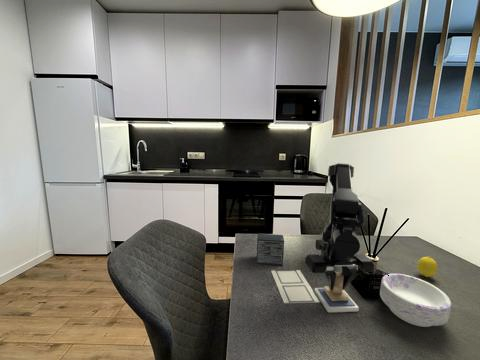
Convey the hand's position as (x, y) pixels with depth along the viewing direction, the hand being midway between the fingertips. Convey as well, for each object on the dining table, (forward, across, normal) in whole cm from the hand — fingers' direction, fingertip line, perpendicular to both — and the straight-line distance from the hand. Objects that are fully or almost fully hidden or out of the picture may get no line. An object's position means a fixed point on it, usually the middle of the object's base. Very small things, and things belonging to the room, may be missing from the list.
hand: (336, 289), depth 65 cm
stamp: (+2, 0, 0) cm, 2 cm away
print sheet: (+4, +10, -8) cm, 14 cm away
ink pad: (+4, 0, 0) cm, 4 cm away
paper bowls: (+4, -19, +6) cm, 20 cm away
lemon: (+4, -41, -11) cm, 43 cm away
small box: (+4, +15, -24) cm, 29 cm away
